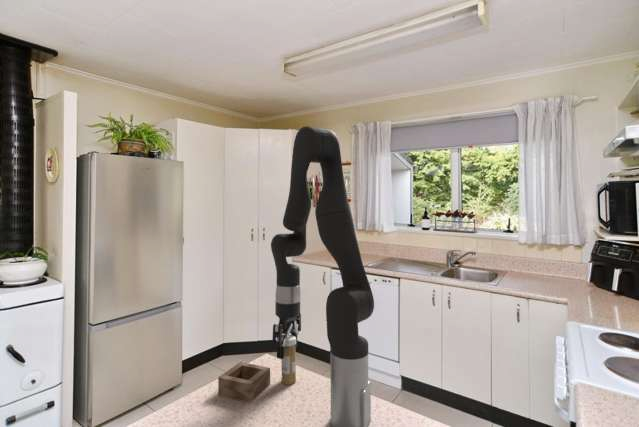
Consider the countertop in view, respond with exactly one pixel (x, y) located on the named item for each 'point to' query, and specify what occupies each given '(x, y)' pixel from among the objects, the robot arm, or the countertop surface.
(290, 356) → the sprinkles bottle
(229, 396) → the frame
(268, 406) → the countertop surface
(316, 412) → the countertop surface
